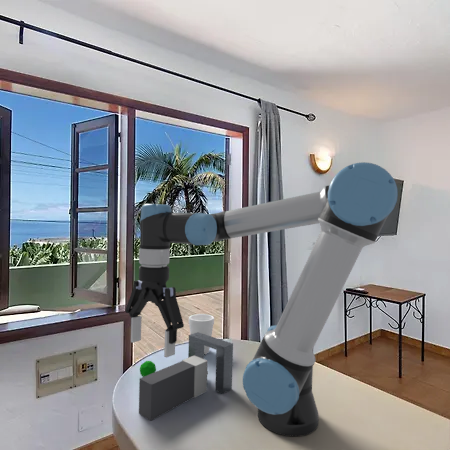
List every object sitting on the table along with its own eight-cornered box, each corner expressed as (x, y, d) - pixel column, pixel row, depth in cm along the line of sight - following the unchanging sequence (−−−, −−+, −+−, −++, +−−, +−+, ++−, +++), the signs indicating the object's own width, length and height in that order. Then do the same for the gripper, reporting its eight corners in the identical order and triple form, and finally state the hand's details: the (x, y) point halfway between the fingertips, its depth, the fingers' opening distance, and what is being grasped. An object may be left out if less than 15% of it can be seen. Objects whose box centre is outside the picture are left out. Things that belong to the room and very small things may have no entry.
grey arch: (231, 388, 101) (233, 343, 101) (223, 394, 98) (224, 347, 98) (196, 373, 111) (197, 332, 110) (187, 377, 107) (188, 335, 107)
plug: (210, 389, 101) (211, 358, 101) (151, 421, 84) (152, 385, 84) (197, 383, 104) (197, 353, 104) (137, 412, 88) (138, 378, 87)
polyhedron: (138, 374, 109) (138, 359, 109) (153, 372, 111) (154, 357, 111) (141, 381, 104) (141, 366, 104) (157, 379, 106) (157, 363, 106)
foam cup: (191, 346, 134) (192, 313, 134) (214, 348, 133) (215, 314, 133) (185, 355, 125) (186, 320, 124) (210, 357, 123) (211, 321, 123)
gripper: (200, 269, 82) (197, 357, 82) (137, 258, 98) (134, 332, 98) (176, 272, 76) (173, 367, 76) (113, 260, 92) (111, 339, 92)
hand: (151, 348), depth 87 cm, fingers open, 13 cm apart
